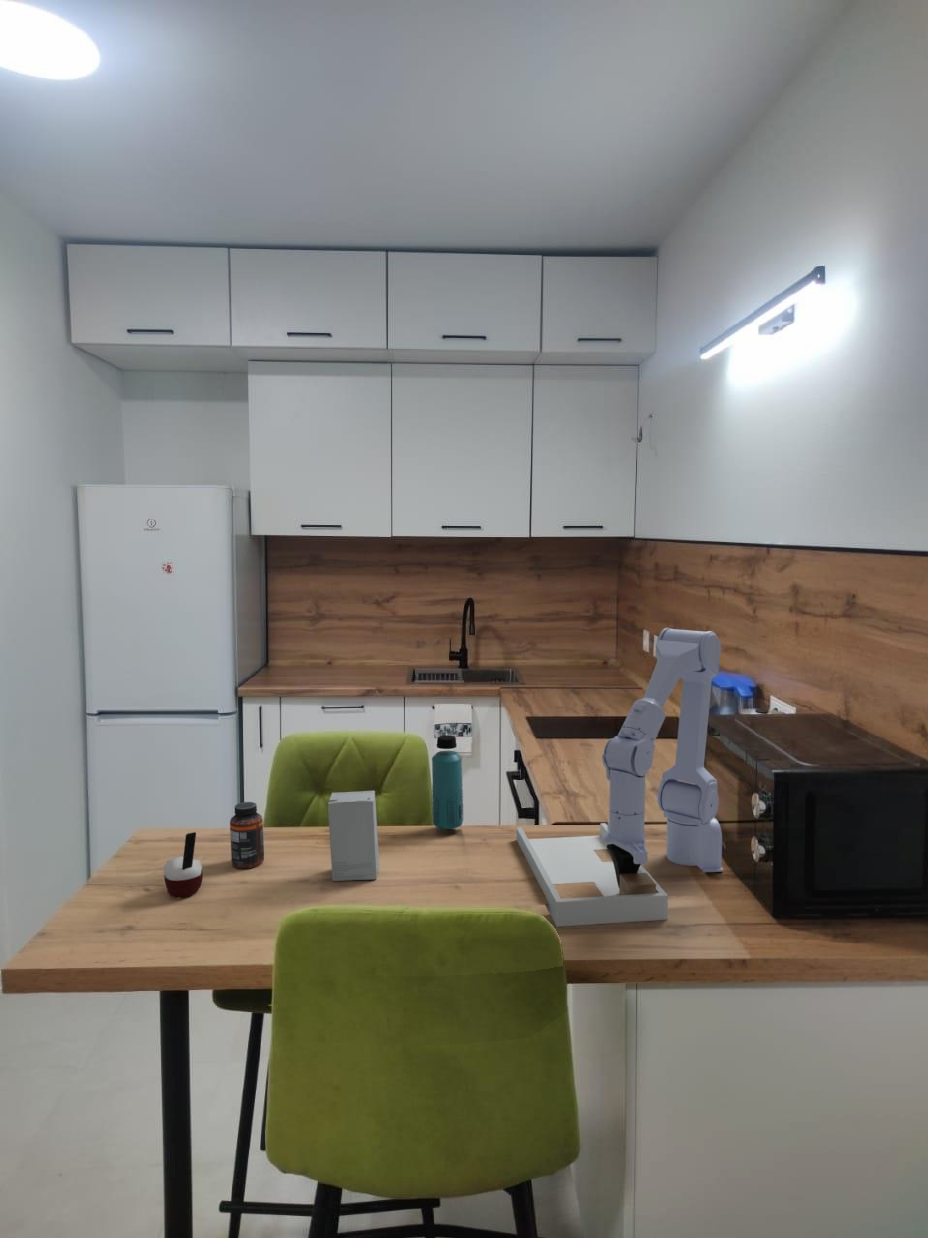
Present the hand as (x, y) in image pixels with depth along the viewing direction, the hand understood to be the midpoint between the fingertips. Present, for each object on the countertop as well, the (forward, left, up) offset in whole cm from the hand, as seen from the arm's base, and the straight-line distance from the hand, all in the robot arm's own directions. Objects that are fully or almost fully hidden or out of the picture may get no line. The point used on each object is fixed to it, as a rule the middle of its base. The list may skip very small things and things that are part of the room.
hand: (625, 889), depth 132 cm
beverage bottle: (+26, -37, -2) cm, 45 cm away
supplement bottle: (+65, -25, -2) cm, 70 cm away
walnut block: (-1, +4, -1) cm, 4 cm away
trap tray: (+5, -9, -2) cm, 11 cm away
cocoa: (+74, -13, -2) cm, 75 cm away
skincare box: (+45, -17, -2) cm, 48 cm away
